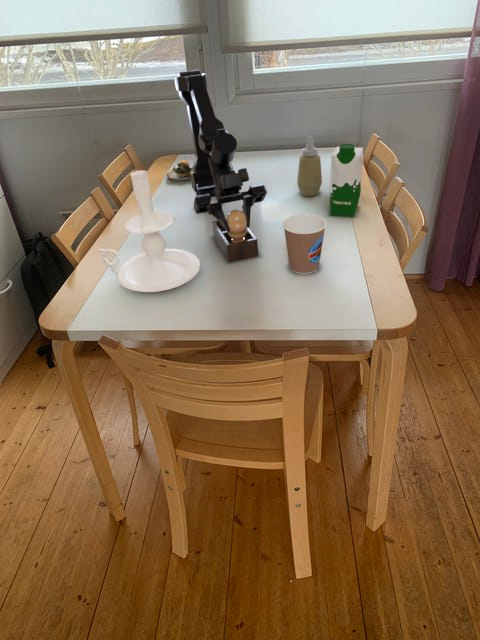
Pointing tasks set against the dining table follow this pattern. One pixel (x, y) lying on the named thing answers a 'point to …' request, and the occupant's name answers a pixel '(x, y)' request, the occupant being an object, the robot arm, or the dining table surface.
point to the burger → (181, 171)
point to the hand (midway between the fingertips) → (238, 229)
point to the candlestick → (152, 248)
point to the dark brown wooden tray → (235, 244)
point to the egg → (237, 225)
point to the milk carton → (345, 180)
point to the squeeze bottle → (309, 170)
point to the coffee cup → (304, 241)
